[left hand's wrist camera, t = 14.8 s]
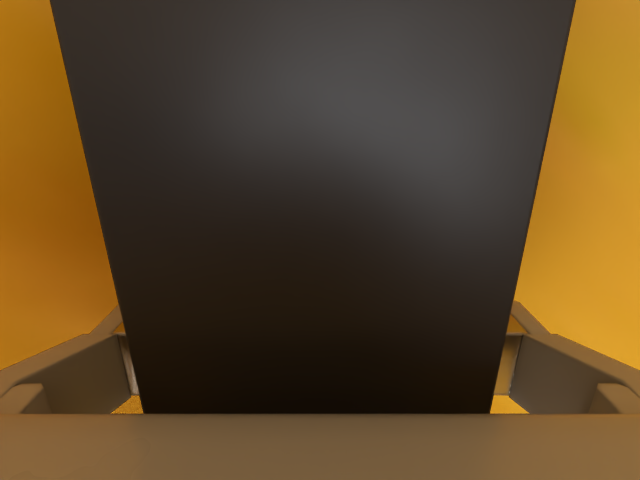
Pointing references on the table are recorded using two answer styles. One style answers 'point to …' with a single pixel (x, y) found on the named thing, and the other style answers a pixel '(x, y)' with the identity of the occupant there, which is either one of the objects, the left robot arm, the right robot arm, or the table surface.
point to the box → (314, 192)
